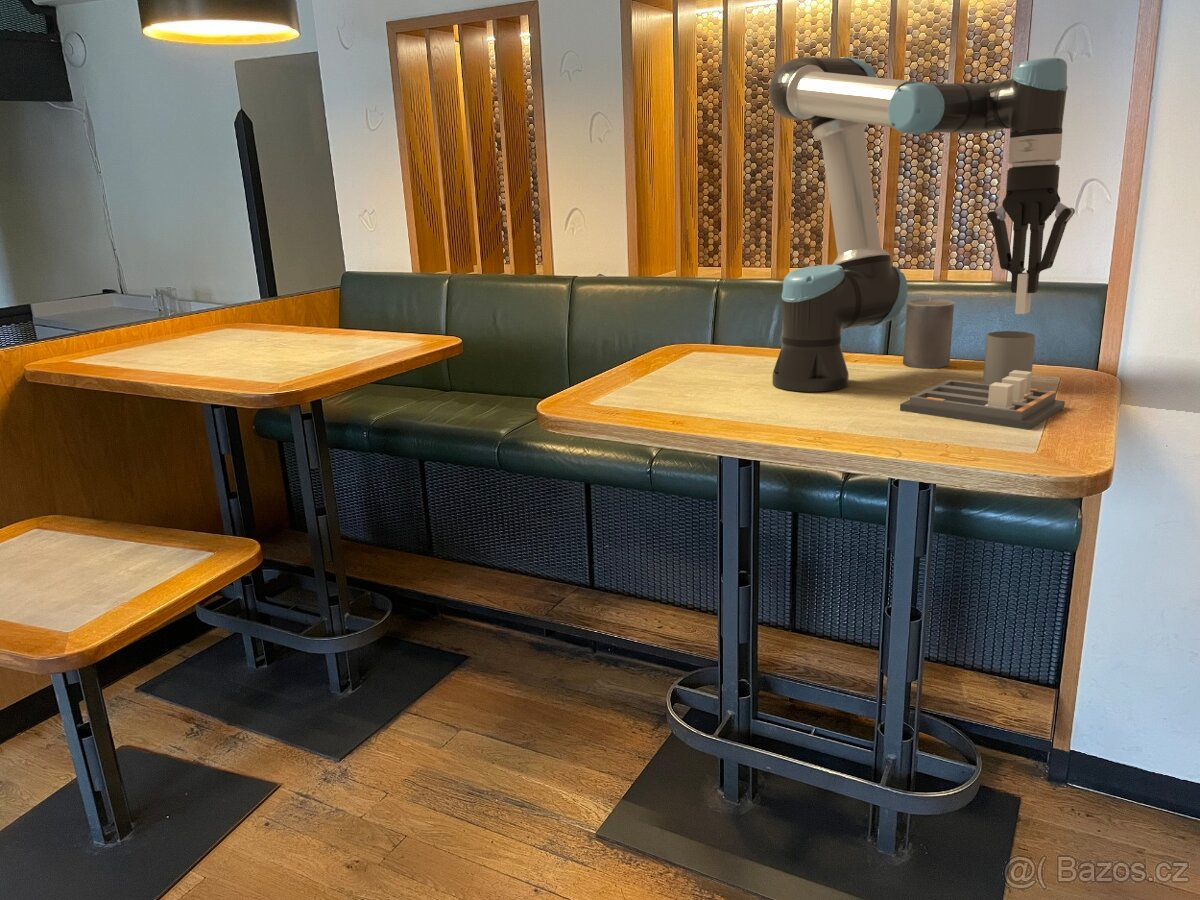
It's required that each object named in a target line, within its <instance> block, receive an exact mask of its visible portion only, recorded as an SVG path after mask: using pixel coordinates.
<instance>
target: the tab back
mask: <svg viewBox="0 0 1200 900" xmlns="http://www.w3.org/2000/svg"><path fill="white" fill-rule="evenodd" d="M1009 376H1010V377H1019V378H1026V382H1025V391H1024V394H1029V395H1031V396H1033V392H1030V390H1031V389H1032V378H1033V371H1032V372H1028V371H1019V370H1014V371H1012V372H1010V373H1009Z"/></svg>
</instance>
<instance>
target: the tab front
mask: <svg viewBox="0 0 1200 900" xmlns="http://www.w3.org/2000/svg"><path fill="white" fill-rule="evenodd" d="M1013 389H1014V384H1006V383H998V382H995V383H993V384H991V385H989V395H988V404H987V405H985V406H991V407H998V408H1005V409H1013V410H1015V406H1014V405H1012V399H1013Z"/></svg>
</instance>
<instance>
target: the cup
mask: <svg viewBox="0 0 1200 900" xmlns="http://www.w3.org/2000/svg"><path fill="white" fill-rule="evenodd" d="M1035 344H1036V334H1034V333H1032V332H1027V331H1026V332H1025V331H1020V330H1019V331H1018V330H1017V331H1016V330H999V331H990V332H988V333H986V341H985V353H984V365H983V377H982V384H989V385H991V384H993V383H995V382H998V383H1002V379H1003V378H1005V377H1007V376H1009V373H1010V372H1012V371H1014V370H1019V371H1028V372H1032V373H1033V365H1034V364H1033V363H1034V356H1035Z"/></svg>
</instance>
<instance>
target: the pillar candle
mask: <svg viewBox="0 0 1200 900" xmlns="http://www.w3.org/2000/svg"><path fill="white" fill-rule="evenodd" d="M955 304H956V302H955V301H953V300H949V299H944V298H943V299H941V298H932V295H930V296H929V298H920V299H911V300H908V301H907V302H906V313H905V315H906V316H905V324H904V325H905V330H904V342H903V357H902V359H903V360H902V364H903V365H904V366H906V367H908V368H915V369H927V370H928V369H929V370H930V369H942V368H944V367H949V365H950V361H951V349H952V348H951V347H952V337H953V336H952V335H953V334H952V333H953V323H954V322H953V321H954V320H953V319H954V309H955Z"/></svg>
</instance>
